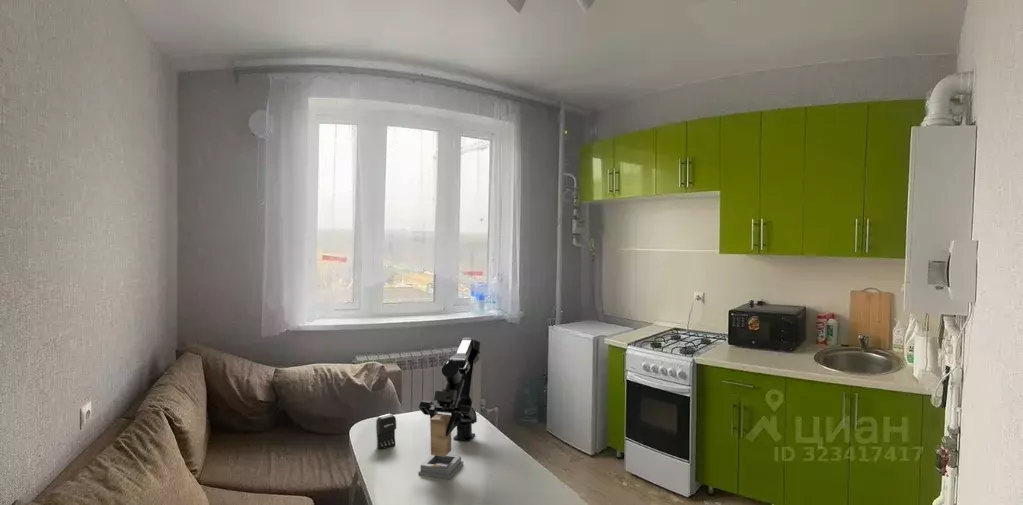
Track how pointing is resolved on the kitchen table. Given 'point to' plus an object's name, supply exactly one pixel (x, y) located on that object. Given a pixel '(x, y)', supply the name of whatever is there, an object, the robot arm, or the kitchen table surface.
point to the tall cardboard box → (440, 435)
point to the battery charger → (385, 431)
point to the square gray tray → (441, 466)
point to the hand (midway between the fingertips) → (439, 434)
